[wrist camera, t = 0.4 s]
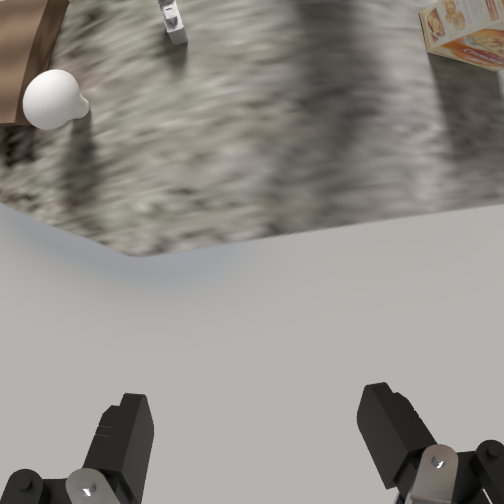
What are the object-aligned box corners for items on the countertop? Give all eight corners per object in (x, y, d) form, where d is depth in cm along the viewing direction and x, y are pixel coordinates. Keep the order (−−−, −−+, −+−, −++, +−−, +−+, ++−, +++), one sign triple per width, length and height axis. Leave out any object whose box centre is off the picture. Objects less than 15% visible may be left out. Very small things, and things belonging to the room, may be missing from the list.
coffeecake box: (426, 53, 32) (527, 16, 13) (417, 11, 30) (504, -40, 11) (494, 73, 33) (585, 61, 14) (486, 35, 31) (570, 12, 12)
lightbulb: (92, 75, 30) (49, 50, 19) (113, 113, 32) (72, 97, 21) (55, 106, 30) (4, 93, 20) (74, 143, 32) (24, 141, 22)
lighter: (188, 41, 30) (179, 13, 22) (173, 46, 30) (161, 19, 22) (174, -3, 28) (163, -35, 20) (160, 2, 28) (147, -30, 20)
